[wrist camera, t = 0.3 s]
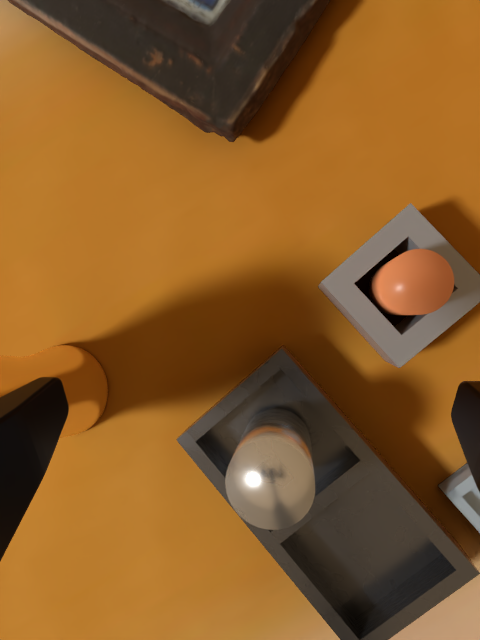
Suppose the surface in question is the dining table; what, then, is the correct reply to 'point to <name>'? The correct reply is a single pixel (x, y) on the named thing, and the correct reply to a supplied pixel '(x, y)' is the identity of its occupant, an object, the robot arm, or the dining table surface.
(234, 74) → the religious icon
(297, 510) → the cylinder
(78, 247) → the dining table surface
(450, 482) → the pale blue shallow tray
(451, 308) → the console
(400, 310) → the brown egg
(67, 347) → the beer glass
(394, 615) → the grey divided tray
